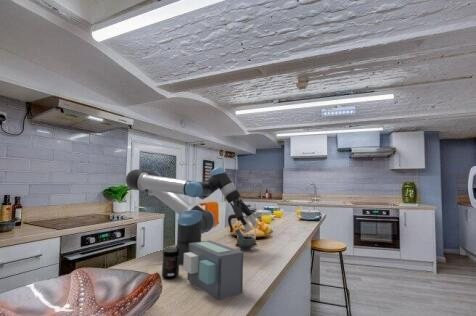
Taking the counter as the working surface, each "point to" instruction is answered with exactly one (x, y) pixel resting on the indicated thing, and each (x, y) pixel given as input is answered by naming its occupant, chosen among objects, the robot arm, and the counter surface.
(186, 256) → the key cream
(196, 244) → the console
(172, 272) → the supplement container
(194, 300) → the counter surface
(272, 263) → the counter surface
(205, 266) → the key teal
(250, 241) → the mortar and pestle
